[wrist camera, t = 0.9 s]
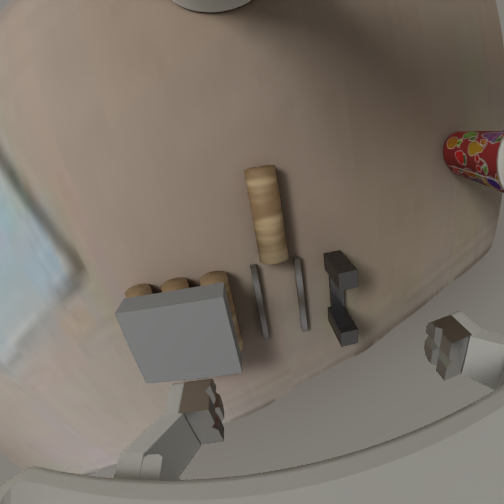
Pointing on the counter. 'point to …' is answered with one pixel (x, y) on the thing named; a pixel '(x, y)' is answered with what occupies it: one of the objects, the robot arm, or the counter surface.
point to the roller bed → (222, 277)
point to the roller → (267, 214)
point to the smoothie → (477, 156)
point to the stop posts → (341, 296)
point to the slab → (181, 334)
